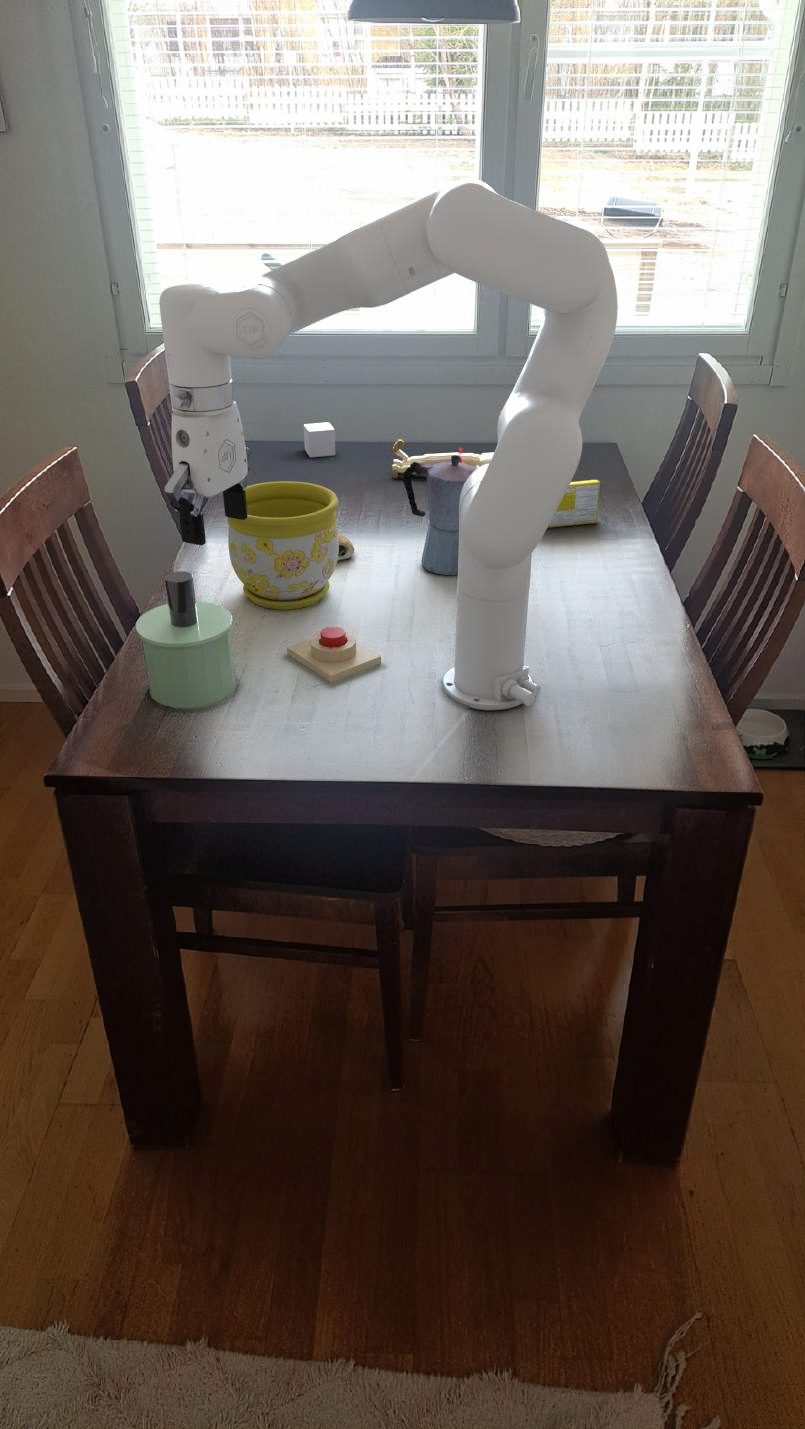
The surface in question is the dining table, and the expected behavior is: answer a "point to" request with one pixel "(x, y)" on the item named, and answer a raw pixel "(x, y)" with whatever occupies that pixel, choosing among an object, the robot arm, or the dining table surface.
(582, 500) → the candy box
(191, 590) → the lid
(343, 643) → the button
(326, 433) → the white cube
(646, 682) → the dining table surface
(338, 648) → the switch block
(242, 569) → the flowerpot
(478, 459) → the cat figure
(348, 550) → the pastry
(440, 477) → the moka pot
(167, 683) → the mint green cup
